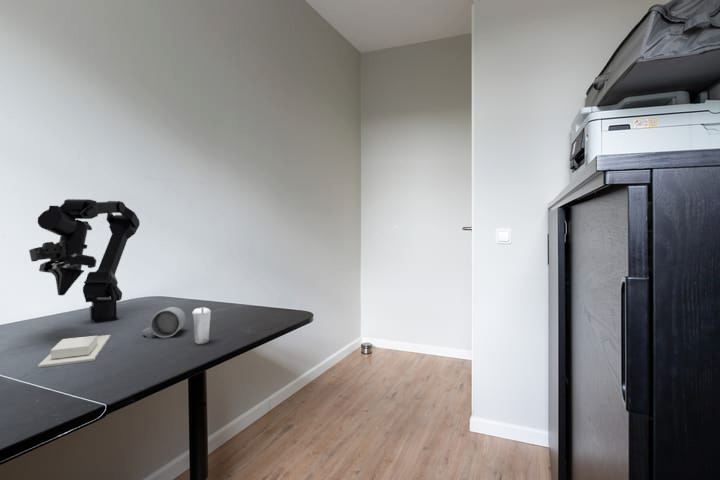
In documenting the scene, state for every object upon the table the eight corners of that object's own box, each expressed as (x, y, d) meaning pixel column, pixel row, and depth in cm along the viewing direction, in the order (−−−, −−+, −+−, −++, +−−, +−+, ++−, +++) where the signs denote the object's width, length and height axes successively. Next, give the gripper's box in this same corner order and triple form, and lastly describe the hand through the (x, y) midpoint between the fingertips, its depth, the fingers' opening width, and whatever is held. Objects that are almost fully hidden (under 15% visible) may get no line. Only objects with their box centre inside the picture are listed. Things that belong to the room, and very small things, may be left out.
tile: (62, 339, 90) (50, 350, 82) (97, 335, 93) (88, 346, 85) (63, 348, 90) (50, 360, 82) (97, 344, 93) (88, 355, 85)
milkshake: (193, 346, 93) (192, 307, 93) (192, 340, 98) (191, 303, 97) (212, 344, 95) (211, 306, 95) (210, 338, 100) (209, 302, 99)
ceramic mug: (187, 329, 109) (186, 303, 109) (180, 337, 101) (179, 309, 101) (148, 331, 107) (147, 305, 106) (138, 340, 99) (137, 312, 98)
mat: (65, 341, 97) (65, 339, 97) (110, 336, 101) (110, 334, 101) (37, 367, 79) (37, 365, 79) (94, 360, 83) (94, 358, 83)
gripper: (22, 239, 102) (8, 295, 97) (54, 227, 93) (40, 288, 88) (69, 248, 111) (58, 299, 107) (101, 237, 102) (91, 293, 98)
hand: (61, 295), depth 100 cm, fingers closed
